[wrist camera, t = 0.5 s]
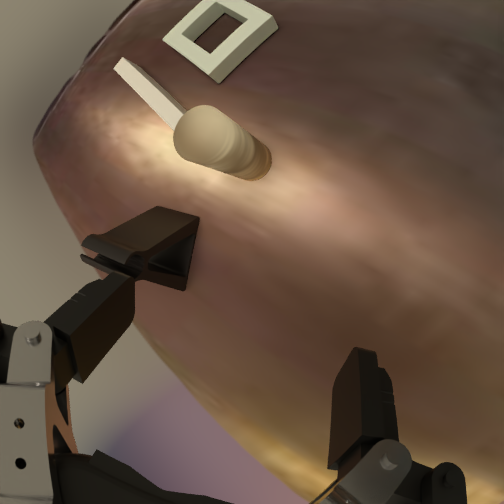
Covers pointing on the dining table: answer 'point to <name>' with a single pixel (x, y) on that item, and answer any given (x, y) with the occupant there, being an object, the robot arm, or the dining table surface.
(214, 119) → the dowel
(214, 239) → the dining table surface
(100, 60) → the dining table surface
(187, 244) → the phone stand
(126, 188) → the dining table surface
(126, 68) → the backstop wall
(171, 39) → the pale green square frame
